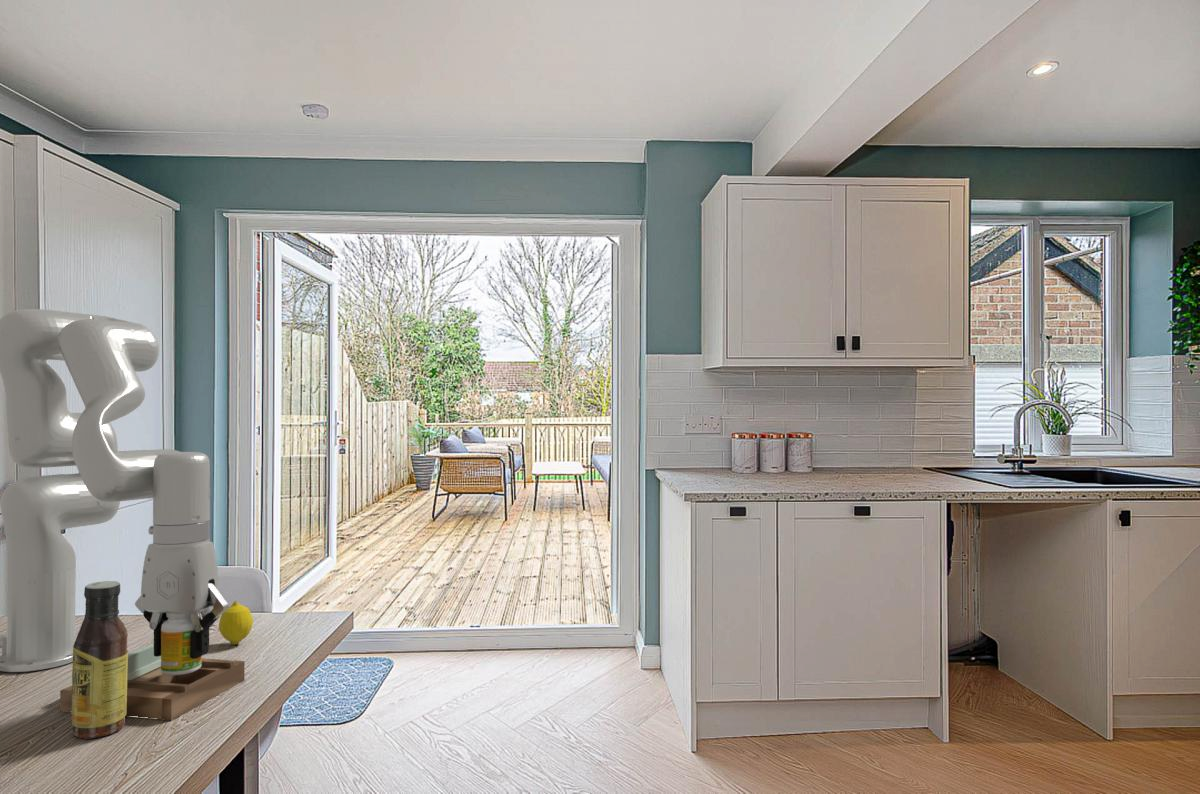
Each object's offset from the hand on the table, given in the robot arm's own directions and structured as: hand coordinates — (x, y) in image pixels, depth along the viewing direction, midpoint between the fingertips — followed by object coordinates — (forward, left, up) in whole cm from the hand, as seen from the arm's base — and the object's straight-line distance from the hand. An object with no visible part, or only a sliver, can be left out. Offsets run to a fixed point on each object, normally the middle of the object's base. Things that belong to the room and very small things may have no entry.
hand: (181, 653), depth 115 cm
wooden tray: (-4, 0, -6) cm, 8 cm away
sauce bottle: (-2, -13, -7) cm, 15 cm away
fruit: (-8, +24, -7) cm, 26 cm away
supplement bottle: (0, 0, -3) cm, 3 cm away
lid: (-10, 0, -3) cm, 11 cm away
